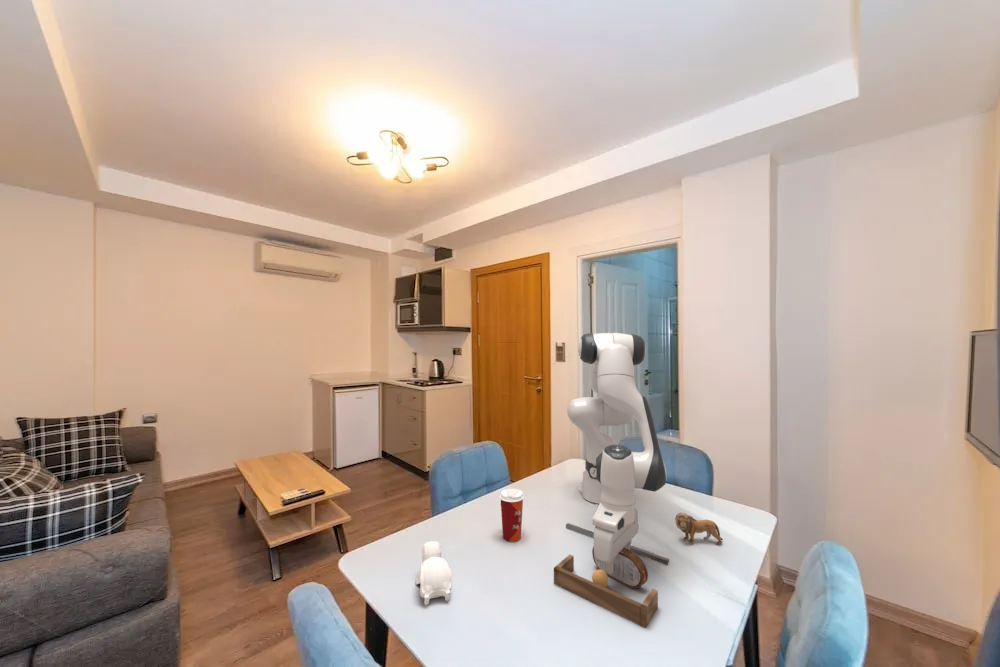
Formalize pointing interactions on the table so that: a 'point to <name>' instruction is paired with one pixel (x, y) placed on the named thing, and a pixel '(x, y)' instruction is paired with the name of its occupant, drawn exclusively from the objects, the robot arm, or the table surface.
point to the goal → (605, 594)
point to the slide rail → (632, 548)
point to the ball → (600, 578)
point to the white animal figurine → (434, 573)
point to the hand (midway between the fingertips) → (618, 563)
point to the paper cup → (511, 514)
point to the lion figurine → (697, 527)
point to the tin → (626, 568)
